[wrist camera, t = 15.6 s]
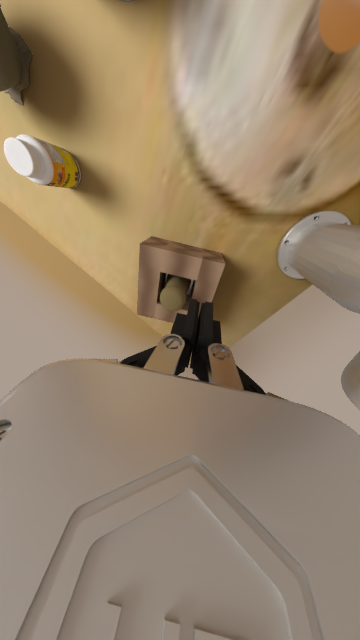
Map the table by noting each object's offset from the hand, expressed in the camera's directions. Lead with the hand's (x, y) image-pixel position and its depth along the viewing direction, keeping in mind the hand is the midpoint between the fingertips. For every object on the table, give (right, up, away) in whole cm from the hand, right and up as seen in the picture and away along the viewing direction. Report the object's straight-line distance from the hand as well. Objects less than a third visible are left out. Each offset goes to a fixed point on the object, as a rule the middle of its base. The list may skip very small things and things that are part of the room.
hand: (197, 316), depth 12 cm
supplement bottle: (-23, +29, +19) cm, 41 cm away
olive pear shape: (-2, +10, +27) cm, 29 cm away
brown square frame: (-1, +10, +28) cm, 30 cm away
